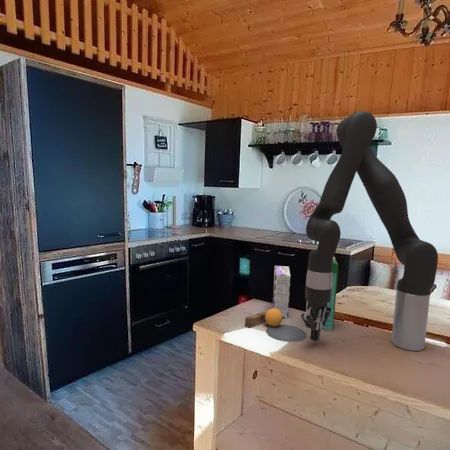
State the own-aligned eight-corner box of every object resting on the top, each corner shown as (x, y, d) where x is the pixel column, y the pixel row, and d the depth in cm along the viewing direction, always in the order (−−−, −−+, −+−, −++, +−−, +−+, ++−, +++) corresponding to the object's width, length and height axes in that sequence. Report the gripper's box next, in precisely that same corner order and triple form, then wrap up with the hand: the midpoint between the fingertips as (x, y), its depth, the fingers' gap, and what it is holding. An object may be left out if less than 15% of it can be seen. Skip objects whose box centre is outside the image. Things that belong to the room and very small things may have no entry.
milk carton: (333, 330, 122) (338, 257, 119) (306, 326, 123) (311, 255, 120) (330, 320, 130) (336, 252, 128) (305, 317, 132) (310, 250, 129)
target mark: (282, 322, 127) (282, 321, 127) (314, 334, 117) (314, 333, 117) (257, 331, 118) (257, 330, 118) (289, 345, 109) (289, 344, 109)
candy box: (272, 305, 145) (274, 265, 143) (287, 306, 144) (289, 266, 142) (272, 317, 131) (274, 273, 129) (288, 318, 130) (291, 274, 128)
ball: (274, 323, 127) (272, 306, 127) (287, 325, 122) (285, 307, 123) (262, 327, 123) (260, 309, 123) (275, 329, 118) (273, 311, 119)
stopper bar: (271, 317, 131) (272, 309, 131) (276, 318, 130) (276, 310, 129) (245, 326, 122) (245, 317, 122) (249, 328, 120) (249, 319, 120)
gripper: (316, 291, 100) (312, 350, 102) (341, 284, 109) (337, 338, 111) (295, 285, 106) (291, 341, 108) (320, 278, 115) (316, 330, 117)
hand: (314, 340), depth 109 cm, fingers closed
